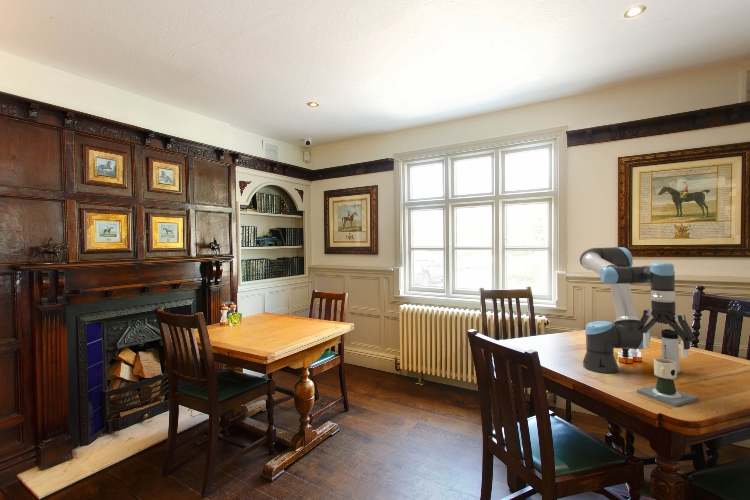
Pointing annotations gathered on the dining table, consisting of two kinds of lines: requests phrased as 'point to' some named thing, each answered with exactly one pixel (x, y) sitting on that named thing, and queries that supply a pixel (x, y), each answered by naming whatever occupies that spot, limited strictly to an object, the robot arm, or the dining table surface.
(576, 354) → the dining table surface
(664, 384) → the character mug
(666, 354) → the travel mug
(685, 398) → the charging pad
